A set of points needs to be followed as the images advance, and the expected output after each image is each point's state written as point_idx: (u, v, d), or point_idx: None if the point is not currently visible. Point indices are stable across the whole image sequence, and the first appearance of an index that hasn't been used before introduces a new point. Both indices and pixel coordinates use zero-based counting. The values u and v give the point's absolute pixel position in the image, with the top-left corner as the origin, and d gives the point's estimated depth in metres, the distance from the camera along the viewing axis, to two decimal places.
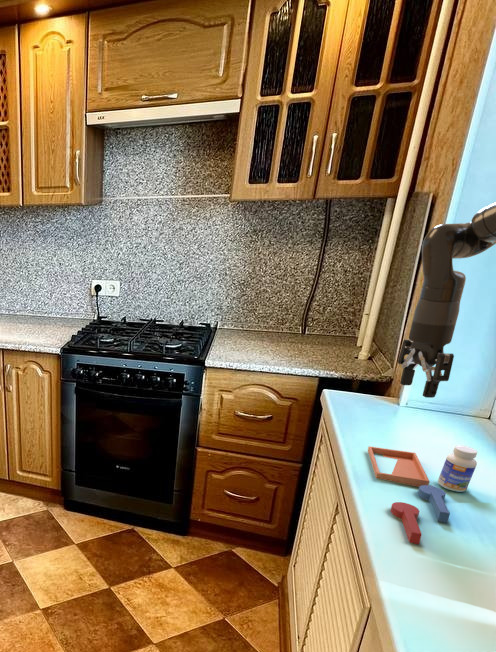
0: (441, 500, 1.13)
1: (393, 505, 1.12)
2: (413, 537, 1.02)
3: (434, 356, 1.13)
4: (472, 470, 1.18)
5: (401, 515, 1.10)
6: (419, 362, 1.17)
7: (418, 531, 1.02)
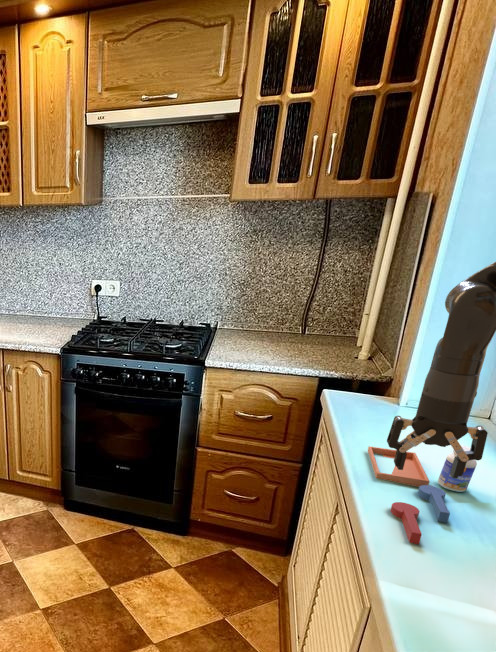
0: (441, 500, 1.13)
1: (393, 505, 1.12)
2: (413, 537, 1.02)
3: (466, 433, 0.96)
4: (472, 470, 1.18)
5: (401, 515, 1.10)
6: (438, 442, 0.98)
7: (418, 531, 1.02)
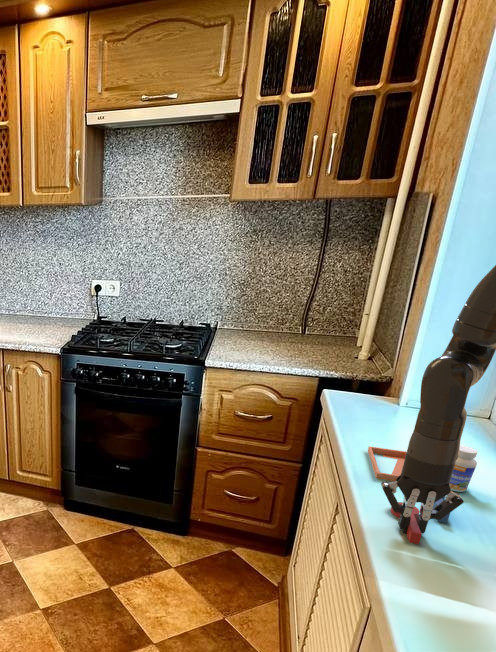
0: (441, 500, 1.13)
1: None
2: (413, 537, 1.02)
3: (449, 493, 1.00)
4: (472, 470, 1.18)
5: None
6: (422, 500, 1.02)
7: (418, 531, 1.02)
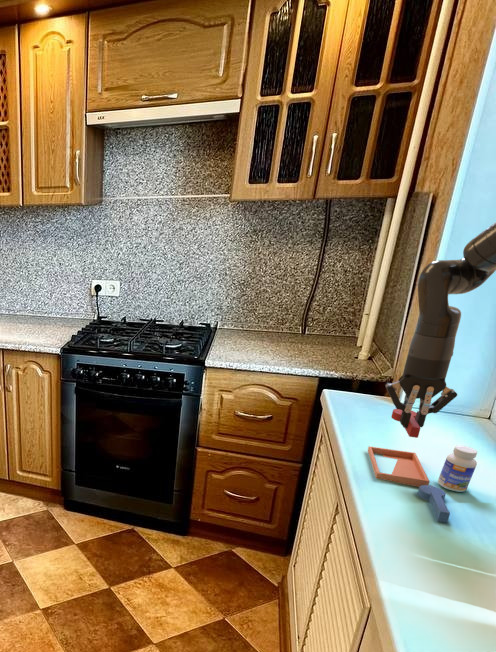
0: (441, 500, 1.13)
1: (394, 410, 1.27)
2: (413, 431, 1.17)
3: (445, 388, 1.14)
4: (472, 470, 1.18)
5: None
6: (421, 396, 1.16)
7: (417, 426, 1.17)
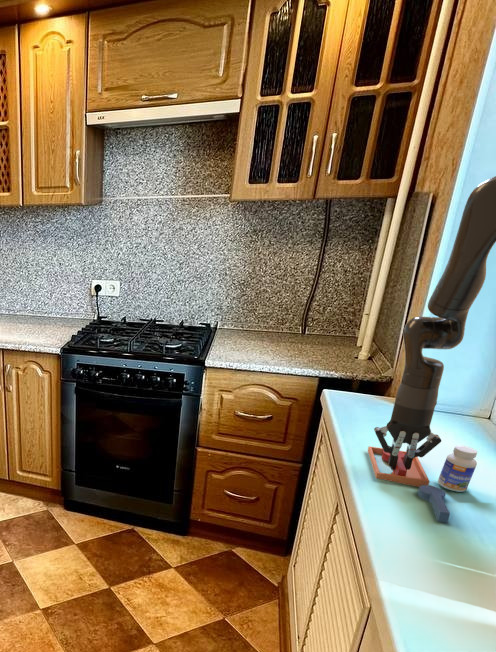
0: (441, 500, 1.13)
1: None
2: (400, 474, 1.24)
3: (429, 434, 1.22)
4: (472, 470, 1.18)
5: None
6: (408, 441, 1.24)
7: (404, 469, 1.24)
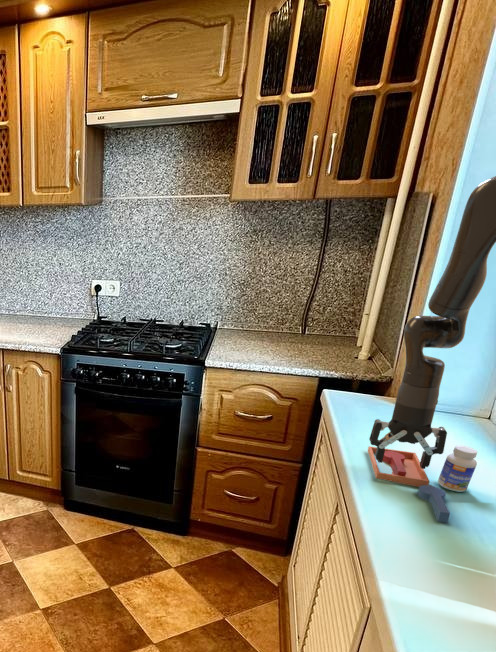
0: (441, 500, 1.13)
1: None
2: (399, 475, 1.24)
3: None
4: (472, 470, 1.18)
5: (390, 460, 1.32)
6: (409, 440, 1.24)
7: (403, 470, 1.24)
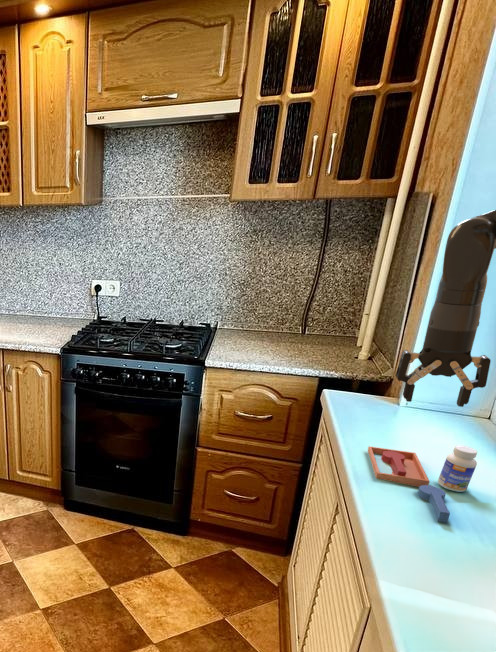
0: (441, 500, 1.13)
1: (383, 453, 1.34)
2: (399, 475, 1.24)
3: (470, 362, 1.02)
4: (472, 470, 1.18)
5: (390, 460, 1.32)
6: (444, 373, 1.05)
7: (403, 470, 1.24)
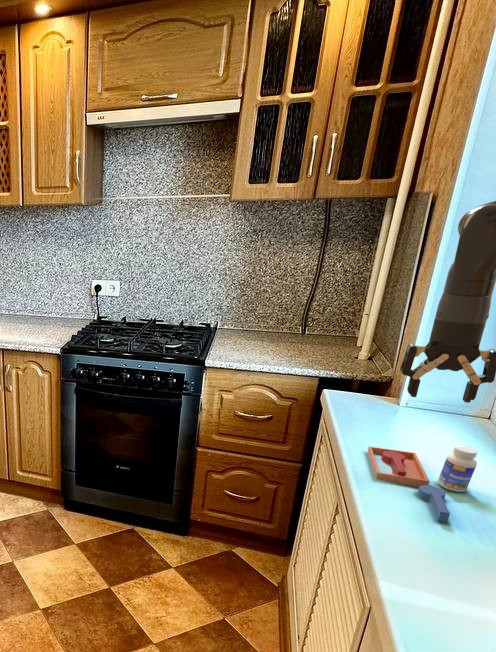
0: (441, 500, 1.13)
1: (383, 453, 1.34)
2: (399, 475, 1.24)
3: (478, 356, 0.98)
4: (472, 470, 1.18)
5: (390, 460, 1.32)
6: (451, 367, 1.01)
7: (403, 470, 1.24)
